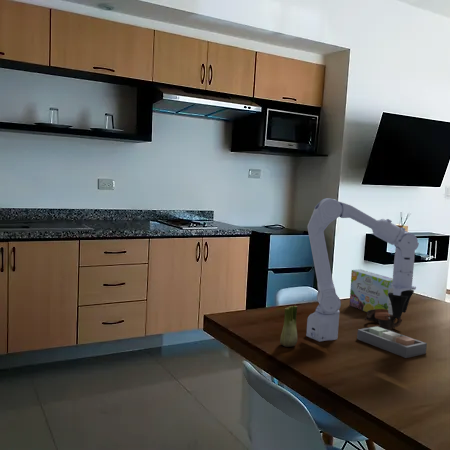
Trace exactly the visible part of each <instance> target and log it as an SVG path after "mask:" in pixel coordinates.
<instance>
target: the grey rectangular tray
mask: <svg viewBox="0 0 450 450" xmlns="http://www.w3.org/2000/svg"><path fill="white" fill-rule="evenodd" d="M375 326H376V327H378V326H377V325H375ZM372 327H373V326H369V327H364V328H360V329H359V328H358V329H357V335H356V336H357V337H356V339H357V340H358V341H360V342H363V343H366V344H369V345H372V346H374V347H376V348H379V349H381V350H384V351H386V352H390V353H392V354H395V355H397V356H400V357H402V358H405V359H407V358H408V359H409V358H412V357H416V356H421V355H425V354H427V345H428V343H427V342H423V341H421V340H419V339H415V338H412V337H410V336H407V335H404V334H402V333H401V334H400V333H398V332H395V331H394V330H387V329H386V330H387V331H386V332H388V331H391V332H394V333H397V334H400V337H401V336H406V337H409V338H412V339H415V341H414V344H413V345H408V346H405V345H402V344H399V343H397V342H394V341H391V340H388V339H386V338H383V337H380V336H377V335H375V334H372V333H369V328H372ZM380 328H381V327H380ZM383 329H384V328H383Z"/></svg>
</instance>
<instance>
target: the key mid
mask: <svg viewBox="0 0 450 450" xmlns="http://www.w3.org/2000/svg"><path fill="white" fill-rule="evenodd" d="M391 331H392V330H390V331H388V332H383V333H382V337H383V338H386V339H388V340H391V341H394V342H396V337H400V333H398V332H395V331H393V332H391ZM394 332H395V333H394ZM397 333H398V334H397Z"/></svg>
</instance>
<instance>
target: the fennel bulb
mask: <svg viewBox="0 0 450 450" xmlns="http://www.w3.org/2000/svg"><path fill="white" fill-rule="evenodd" d="M297 313H298V306H297V305H294V306H293V305H291V306H288V307H285V308H284V320H283V327H282V330H281V334H280V340H279V343H280V345H282V346H284V347H285V348H286V347H287V348H289V347H295V346H296V345H297V343H298V330H297V316H298V315H297Z"/></svg>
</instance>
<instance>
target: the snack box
mask: <svg viewBox="0 0 450 450" xmlns="http://www.w3.org/2000/svg"><path fill="white" fill-rule="evenodd" d="M350 277H351V278H350V289H349V290H350V293H349V306H350V307H353V308H355V309H357V308H358V310H361V311H363V312H365V313H367V311H369V310H374V309H386V310H388V313H389V314H391V315H392V314H393V313H392V305H391V301H390V299H389V297H388V293H389V292H390V293H393V290H394V289H393V288H392V287H391V284H392V281H393V277H390V276H389V277H388V276H385V275H383V274H382V275H381V274H378V273H375V272H372V271H368V270H364V269H361V268H360V269H351V276H350ZM389 320H390V317H389Z"/></svg>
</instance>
